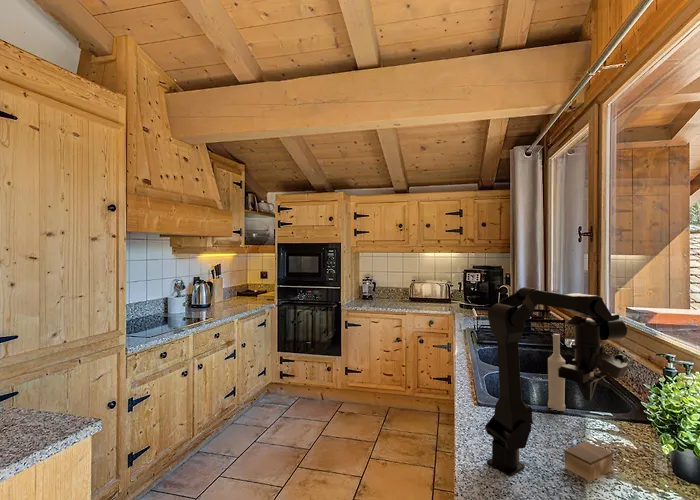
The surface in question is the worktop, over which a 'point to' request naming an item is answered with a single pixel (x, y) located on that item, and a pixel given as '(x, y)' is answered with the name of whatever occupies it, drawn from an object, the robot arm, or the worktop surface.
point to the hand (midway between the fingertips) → (588, 400)
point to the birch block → (588, 460)
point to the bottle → (556, 377)
